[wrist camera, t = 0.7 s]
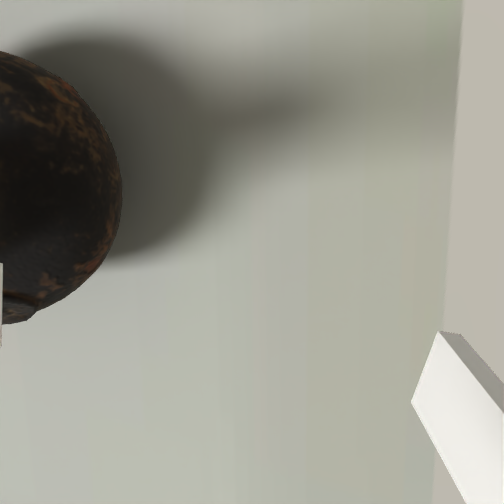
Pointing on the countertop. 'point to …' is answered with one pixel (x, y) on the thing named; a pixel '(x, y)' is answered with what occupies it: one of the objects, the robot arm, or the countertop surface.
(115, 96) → the countertop surface
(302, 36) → the countertop surface
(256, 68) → the countertop surface
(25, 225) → the glass bottle
